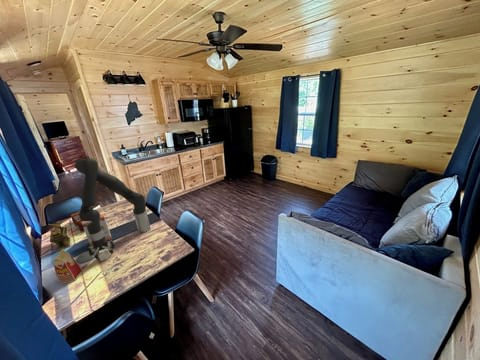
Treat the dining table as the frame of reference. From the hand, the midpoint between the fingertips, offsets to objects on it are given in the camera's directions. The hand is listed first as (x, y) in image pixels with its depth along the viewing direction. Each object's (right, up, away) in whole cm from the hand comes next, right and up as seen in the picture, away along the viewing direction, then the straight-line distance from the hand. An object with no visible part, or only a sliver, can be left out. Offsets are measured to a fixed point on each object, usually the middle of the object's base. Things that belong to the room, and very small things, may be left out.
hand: (104, 256), depth 139 cm
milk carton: (-11, -8, -14) cm, 20 cm away
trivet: (-13, -1, +2) cm, 14 cm away
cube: (0, -1, 0) cm, 1 cm away
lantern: (-46, +12, +40) cm, 62 cm away
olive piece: (-41, +2, +15) cm, 44 cm away
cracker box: (-14, +5, +18) cm, 23 cm away
